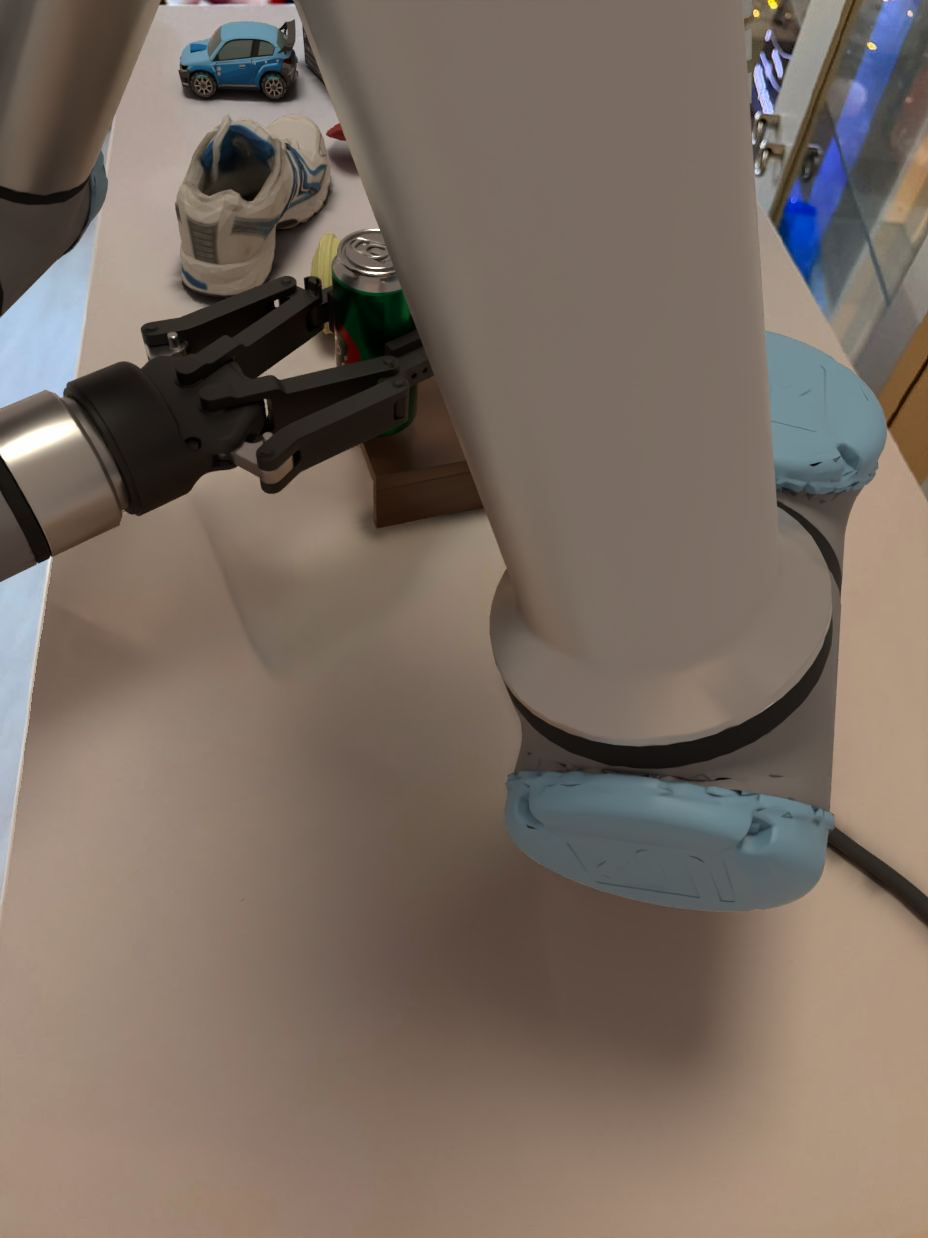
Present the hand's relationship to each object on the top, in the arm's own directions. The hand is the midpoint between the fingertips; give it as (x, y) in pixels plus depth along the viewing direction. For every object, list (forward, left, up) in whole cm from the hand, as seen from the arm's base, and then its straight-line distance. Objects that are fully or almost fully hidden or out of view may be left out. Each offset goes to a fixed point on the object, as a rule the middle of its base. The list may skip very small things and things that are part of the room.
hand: (444, 302), depth 58 cm
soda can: (-2, +5, -7) cm, 9 cm away
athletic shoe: (+31, +7, -13) cm, 34 cm away
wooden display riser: (0, +1, -13) cm, 13 cm away
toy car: (+57, +3, -13) cm, 58 cm away
